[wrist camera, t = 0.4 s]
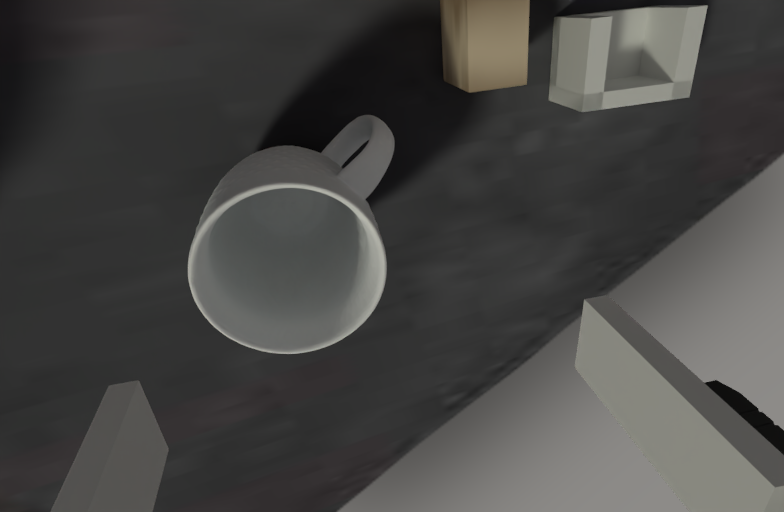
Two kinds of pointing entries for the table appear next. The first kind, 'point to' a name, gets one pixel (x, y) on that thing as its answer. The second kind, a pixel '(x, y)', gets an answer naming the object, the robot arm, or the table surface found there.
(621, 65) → the endcap
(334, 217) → the mug
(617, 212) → the table surface
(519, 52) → the slat
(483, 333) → the table surface
